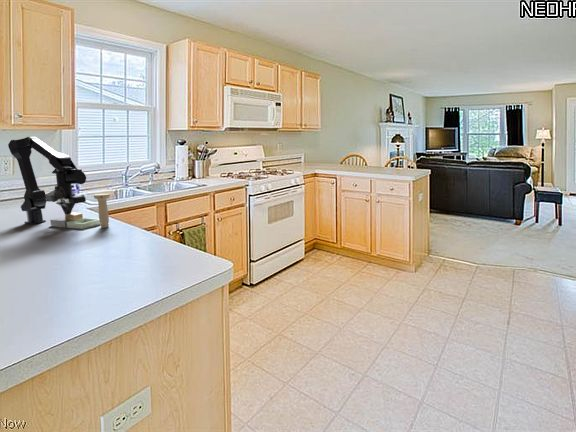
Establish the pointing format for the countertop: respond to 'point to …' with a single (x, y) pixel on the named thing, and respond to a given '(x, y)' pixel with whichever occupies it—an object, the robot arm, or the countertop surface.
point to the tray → (83, 223)
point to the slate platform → (59, 222)
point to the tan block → (73, 216)
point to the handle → (103, 209)
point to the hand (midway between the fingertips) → (67, 217)
